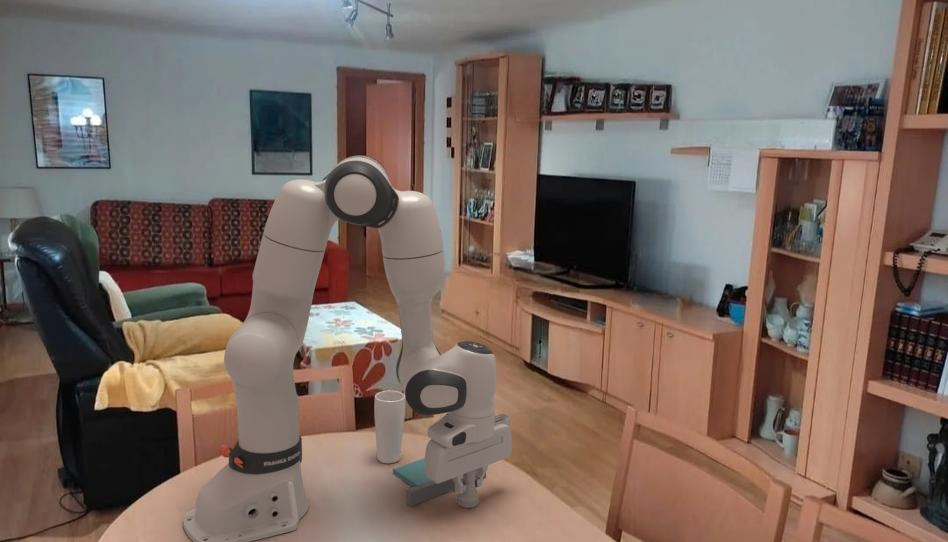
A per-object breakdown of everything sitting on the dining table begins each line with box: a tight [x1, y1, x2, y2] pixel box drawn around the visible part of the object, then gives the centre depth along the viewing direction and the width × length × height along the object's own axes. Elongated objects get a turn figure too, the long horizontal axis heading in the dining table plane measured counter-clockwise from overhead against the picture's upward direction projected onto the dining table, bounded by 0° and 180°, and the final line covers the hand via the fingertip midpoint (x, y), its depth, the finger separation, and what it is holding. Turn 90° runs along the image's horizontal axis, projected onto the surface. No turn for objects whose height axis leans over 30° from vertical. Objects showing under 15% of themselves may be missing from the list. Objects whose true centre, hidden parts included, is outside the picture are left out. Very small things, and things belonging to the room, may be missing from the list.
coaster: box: [392, 457, 431, 488], centre depth 149 cm, size 10×10×1 cm
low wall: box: [405, 472, 487, 507], centre depth 143 cm, size 20×2×3 cm, turn 131°
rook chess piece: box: [456, 469, 480, 509], centre depth 138 cm, size 4×4×8 cm
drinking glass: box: [373, 390, 406, 464], centre depth 154 cm, size 7×7×15 cm
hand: (468, 488), depth 138 cm, fingers closed on rook chess piece, 3 cm apart
